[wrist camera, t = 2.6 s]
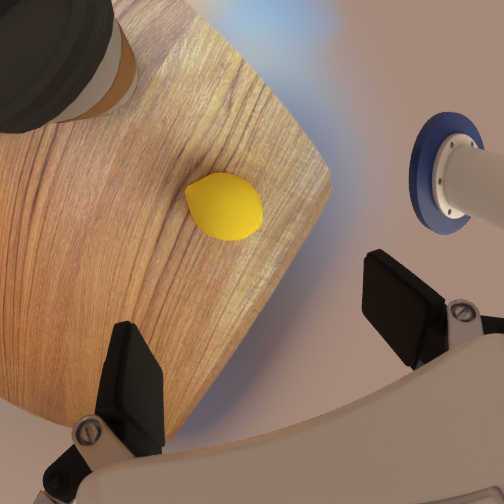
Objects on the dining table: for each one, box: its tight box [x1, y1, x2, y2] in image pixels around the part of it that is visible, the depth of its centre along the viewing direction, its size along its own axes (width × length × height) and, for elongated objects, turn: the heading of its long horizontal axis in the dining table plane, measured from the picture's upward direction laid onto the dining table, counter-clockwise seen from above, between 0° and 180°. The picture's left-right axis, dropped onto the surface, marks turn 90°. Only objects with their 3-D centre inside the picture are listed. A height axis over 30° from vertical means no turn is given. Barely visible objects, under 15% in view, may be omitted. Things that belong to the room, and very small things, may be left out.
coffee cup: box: [0, 0, 138, 133], centre depth 11 cm, size 8×8×15 cm
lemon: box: [184, 173, 263, 241], centre depth 22 cm, size 7×5×5 cm
